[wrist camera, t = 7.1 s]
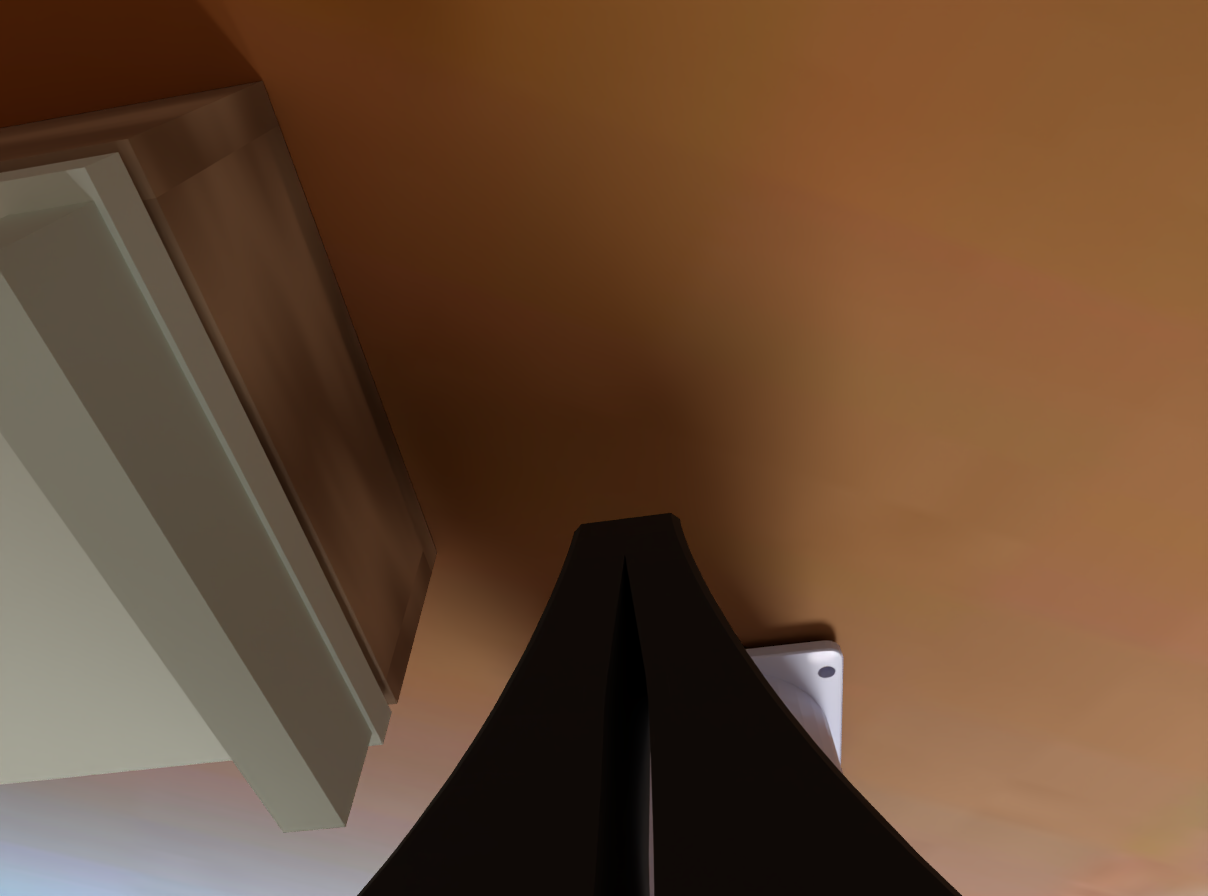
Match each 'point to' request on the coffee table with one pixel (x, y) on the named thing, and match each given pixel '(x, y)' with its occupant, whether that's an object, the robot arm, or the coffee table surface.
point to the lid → (151, 529)
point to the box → (273, 336)
